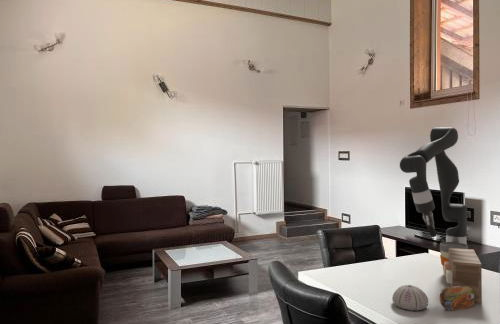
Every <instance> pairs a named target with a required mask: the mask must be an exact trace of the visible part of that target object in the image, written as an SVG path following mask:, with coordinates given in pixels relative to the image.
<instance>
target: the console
mask: <svg viewBox="0 0 500 324" xmlns="http://www.w3.org/2000/svg"><path fill="white" fill-rule="evenodd" d="M449 263H450V270H452V283H448V285H449V287H454V286H460V285H465V286H469V287H471V288H473V289H474V291H475V294H476V300H475V303H474V304H477V305H482V304H483V301H482V300H483V299H482V297H483V295H482V291H483V290H482V286H483V284H482V283H483V282H482V277H483V276H482V275H483V274H482V270H483V269H482V267H483V266H482V262H481V260H480V259H479V257H478V255H477V254H476V252H475V249H471V248H470V249H469V248H468V249H458V248H449ZM474 304H473V305H474Z"/></svg>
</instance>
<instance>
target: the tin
mask: <svg viewBox="0 0 500 324" xmlns="http://www.w3.org/2000/svg"><path fill="white" fill-rule="evenodd" d="M475 300H476V294H475V291H474V289H473V288H471V287H469V286H465V285H460V286H454V287H450V286H447V287H445V288H443V289H441V292H440V293H439V302H440V305H441V306H442V307H443V308H444V309H446V310H448V311H449V312H450V311H451V312H452V311H453V312H454V311H458V310H459V311H460V310H464V309H465V310H466V309H470V308H471V307H473V306H474V303H475Z"/></svg>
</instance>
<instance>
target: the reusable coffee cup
mask: <svg viewBox="0 0 500 324" xmlns="http://www.w3.org/2000/svg"><path fill="white" fill-rule="evenodd" d="M449 248H458V249H469V245H468V244H467V245H466V244H463V243H458V242H446V241H443V242H440V243H439V250H440V251H439V252H440V254H439V256H440V263H441V265H442V271H443V275H444V276H445V277H446V273H445V270H444V261H447V262H449Z"/></svg>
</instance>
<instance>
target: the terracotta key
mask: <svg viewBox="0 0 500 324" xmlns="http://www.w3.org/2000/svg"><path fill="white" fill-rule="evenodd" d="M444 270H445V273H446V270H450V263H449V262H447V261H444Z"/></svg>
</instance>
